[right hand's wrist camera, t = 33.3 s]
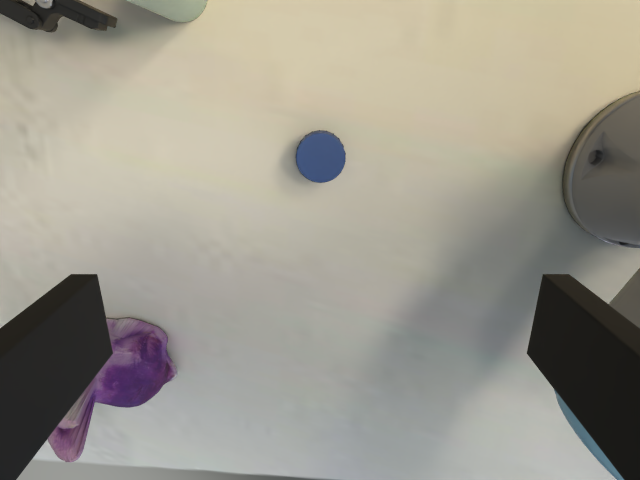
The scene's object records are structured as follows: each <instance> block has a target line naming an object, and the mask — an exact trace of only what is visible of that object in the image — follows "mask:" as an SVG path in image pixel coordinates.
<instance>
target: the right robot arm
mask: <svg viewBox="0 0 640 480" xmlns="http://www.w3.org/2000/svg"><path fill="white" fill-rule="evenodd" d="M563 193H564V198H565V202H566V205H567V208H568V210H569V212H570V214H571V216H572V217H573V219H574V220H575V221H576V222H577V224H578V225H579V226H580V227H582V228H583V229H584V230H585V231H587V232H588V233H590V234H592V235H594V236H595V237H597V238H599V239H601V240H603V241H605V242H608V243H611V244H615V245H619V246H623V247H631V248H640V91H639V92H636V93H633V94H630V95H628V96H625V97H623V98H621V99H619V100H618V101H616V102H614V103H613V104H611V105H609V106H608V107H607V108H605V109H604V110H603V111H601V112H600V113H599V114H598V115H597V116H596V117H595V118H594V119H593V120H592V121H591V122H590V123H589V124H588V125H587V126H586V127H585V128H584V130H583V131H582V132H581V134H580V135H579V137H578V138H577V140H576V141H575V143H574V145H573V147H572V149H571V151H570V154H569V156H568V159H567V162H566V165H565V170H564V176H563ZM112 354H113V350H112V345H111V340H110V336H109V331H108V326H107V321H106V316H105V311H104V306H103V301H102V296H101V291H100V286H99V281H98V276H97V274H71V275H70V276H68V277H67V278H66V279H64V280H63V281H62V282H60V283H59V284H58V285H56V286H55V287H54V288H53V289H51V290H50V291H49V292H47V293H46V294H45V295H43V296H42V297H41V298H39V299H38V300H37V301H36V302H34V303H33V304H32V305H30V306H29V307H28V308H26V309H25V310H24V311H22V312H21V313H20V314H19V315H17V316H16V317H15V318H13V319H12V320H11V321H9V322H8V323H7V324H5V325H4V326H3V327H1V328H0V480H16V479H17V478H18V476H19V475H20V474H21V473H22V471H23V470H24V469H25V467H26V466H27V465H28V463H29V462H30V461H31V460H32V458H33V457H34V456H35V454H36V453H37V452H38V450H39V449H40V448H41V447H42V445H43V444H44V443H45V441H46V440H47V439H48V437H49V436H50V435H51V434H52V432H53V431H54V430H55V428H56V427H57V426H58V424H59V423H60V422H61V421H62V419H63V418H64V417H65V415H66V414H67V413H68V411H69V410H70V409H71V408H72V406H73V405H74V404H75V402H76V401H77V400H78V398H79V397H80V396H81V394H82V393H83V392H84V391H85V389H86V388H87V387H88V385H89V384H90V383H91V381H92V380H93V379H94V378H95V376H96V375H97V374H98V372H99V371H100V370H101V368H102V367H103V366H104V365H105V363H106V362H107V361H108V359H109V358H110V357H111V355H112ZM527 354H528V355H529V357H530V358H531V359H532V361H533V362H534V363H535V365H536V366H537V367H538V368H539V370H540V371H541V372H542V374H543V375H544V376H545V378H546V379H547V380H548V381H549V383H550V384H551V385H552V387H553V388H554V391H555V393H556V396H557V401H558V404H559V406H560V408H561V410H562V412H563V414H564V416H565V417H566V419H567V421H568V422H569V424H570V425H571V427H572V428H573V430H574V431H575V433H576V434H577V435H578V437H579V438H580V439H581V441H582V442H583V443H584V444H585V446H586V447H587V448H588V449H589V451H590V452H591V453H592V454H593V455H594V456H595V457H596V459H597V460H598V461H599V462H600V463H601V464H602V465H603V466H604V467H605V468H606V469H607V470H608V471H609V472H610V473H611V474H612V475H613V476H614V477H615V478H616V479H617V480H640V268H639V269H638V271H637V272H636V273H635V274H634V275H633V276H632V278H631V279H630V280H629V281H628V282H627V284H626V285H625V286H624V287H623V288H622V289H621V291H620V292H619V293H618V294H617V295H616V296H615V298H614V299H613V300H612V301H611V302H610V304H609V305H608V304H607V303H606V302H604V301H603V300H602V299H601V298H599V297H598V296H597V295H595V294H594V293H593V292H591V291H590V290H589V289H587V288H586V287H585V286H584V285H582V284H581V283H580V282H578V281H577V280H576V279H574V278H573V277H572V276H570V275H569V274H543V276H542V281H541V286H540V291H539V296H538V301H537V306H536V311H535V316H534V321H533V326H532V331H531V336H530V340H529V345H528V350H527Z"/></svg>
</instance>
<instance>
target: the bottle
mask: <svg viewBox="0 0 640 480" xmlns="http://www.w3.org/2000/svg"><path fill="white" fill-rule="evenodd" d="M126 1H129V2H131V3H133V4H136V5H138V6H140V7H143V8H145V9H147V10H149V11H152V12H154V13H156V14H159V15H161V16H163V17H166V18H168V19H170V20H173V21H176V22H182V23H183V22H190V21H192V20H194V19H196V18H197V17H198V16H199V15H200V14H201V13H202V12H203V10H204V8H205V6H206V4H207V0H126Z"/></svg>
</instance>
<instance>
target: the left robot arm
mask: <svg viewBox="0 0 640 480" xmlns="http://www.w3.org/2000/svg"><path fill="white" fill-rule="evenodd" d="M35 1H36V2H35V4H34V6H31V5H29V4H28V3H26V2H24V1H22V0H0V13H1V14H3V15H5V16H7V17H9V18H11V19H13V20H14V21H16V22H18V23H20V24H22V25H24V26H26V27H28V28H30V29H35V30H37V29H39V30H44V31H47V32H55V31H56V30H57V28H58V24H57V22H58V20H59V19H60V18H61V17H62V16H65V17H67V18H69V19H71V20H74V21H76V22H78V23H80V24H82V25H84V26H86V27H89V28H91V29H96V30H103V31H106V29H107V26H110V27H114V28H115V27H116V23H117V18H115V17H113V16H111V15H109V14H107V13H105V12H103V11H100V10H98V9H96V8H94V7H92V6H90V5H88V4H86V3H83V2H81V1H79V0H35Z"/></svg>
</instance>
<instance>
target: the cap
mask: <svg viewBox="0 0 640 480" xmlns="http://www.w3.org/2000/svg"><path fill="white" fill-rule="evenodd" d="M345 155H346V154H345V151H344V146H343V144H342V143H341V142H340V140H339V138H337V137H336V136H335V135H334V134H332V133H330V132H327V131H320V130H319V131H314V132H313V131H312V133H310V134H308V135H306V136H305V137H304V138H303V139H302V140H301V141H300V144H299V147H298V148H297V154H296V162H297V166H298V168H299V170H300V172H301V173H302V174H303V175H304V176H305V177H306V178H307V179H309V180H311V181H314V182H320V183H322V182H328V181H331V180H333V179H334V178H336V177H337V176H338V175H339V174H340V173H341V171H342V169H343V167H344V164H345Z"/></svg>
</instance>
